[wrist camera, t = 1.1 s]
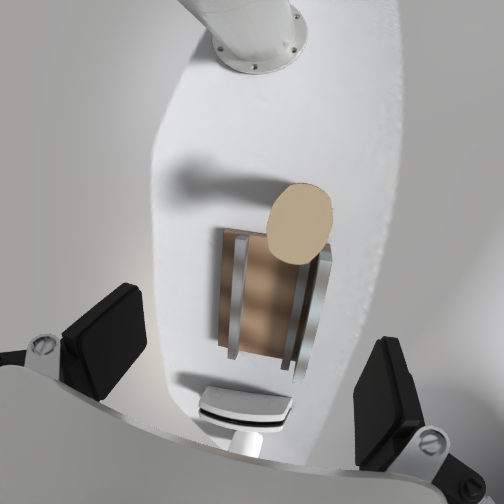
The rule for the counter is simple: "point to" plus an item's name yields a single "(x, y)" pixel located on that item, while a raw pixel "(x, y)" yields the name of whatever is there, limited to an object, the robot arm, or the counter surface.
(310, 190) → the handle
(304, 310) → the track
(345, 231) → the counter surface
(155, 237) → the counter surface
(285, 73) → the counter surface
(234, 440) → the can
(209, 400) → the grey curved slotted block
